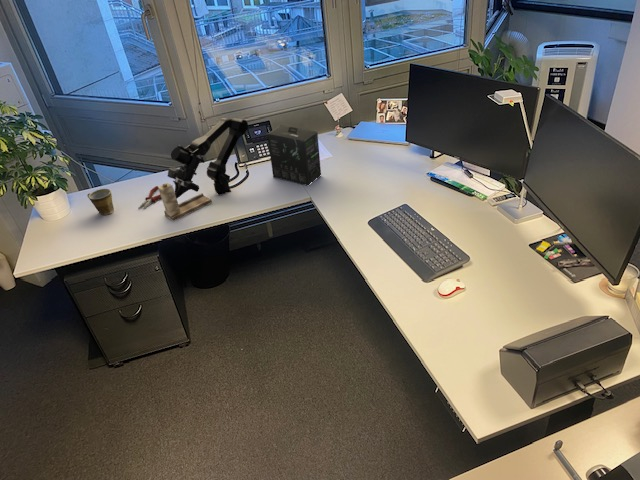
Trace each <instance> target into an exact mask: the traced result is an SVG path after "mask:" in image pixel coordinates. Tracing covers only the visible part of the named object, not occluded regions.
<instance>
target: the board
mask: <svg viewBox="0 0 640 480" xmlns="http://www.w3.org/2000/svg"><path fill="white" fill-rule="evenodd" d="M211 203H212V199H211V198H208V196H205V195H204V192H203V193H202V192H201V193H199V194H197V195H195V196H192V197H191V198H189V199H187V200H184V201H182V202H180V203H178V205H179V208H180V213H178V214H176V215H173V216H169V215H168V214H167V213H166V210H165V209H164V212H163V213H164V215H165V216H166V217H167V218H168V219H170V220H172V222H173V221H174V222H175V221H177V220H179V219H181V218H183V217H185V216H186V215H188V214H191V213H192V212H195V211H197V210H199V209H201V208H203V207H205V206H208V205H209V204H211Z"/></svg>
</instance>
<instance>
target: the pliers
mask: <svg viewBox="0 0 640 480" xmlns="http://www.w3.org/2000/svg"><path fill="white" fill-rule="evenodd" d="M158 187H159V186H158V185H157V186H155V187H153V188H151V189H150V191H149V194H148V196H146V197H145V198H144V202H142V203H141V205H140V206H139V207H138V209H142V210H144V209H146V208H148V207H149V206H150V205H152V203H154V204H155V203H157V202H158V201H160V200H162V198H161V195H160V194H157V195H155V196H154V194H155V193H156V192H157V191H159V189H158ZM154 192H155V193H154ZM152 196H153V197H152Z"/></svg>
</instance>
